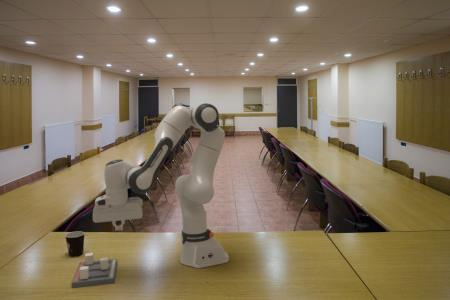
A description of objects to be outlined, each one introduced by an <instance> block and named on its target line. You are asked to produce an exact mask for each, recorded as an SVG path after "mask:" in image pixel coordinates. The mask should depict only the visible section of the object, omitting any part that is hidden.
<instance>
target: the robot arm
mask: <svg viewBox="0 0 450 300" xmlns="http://www.w3.org/2000/svg"><path fill="white" fill-rule="evenodd" d="M188 128H192V129H196V130H200V139H199V141H198V143H197V145H196V148H195V150H194V154H193V156H192V159H191V164H192V166H191V167H192V169H191V173H190V174H183V175H180V176H179V177H178V178H176V180H175V182H174V183H175V184H174V186H175V190H176V193H177V197H178V200H179V206H180V210H181V219H182V221H181V222H182V223H181V224H182V225H181V226H182V229H181V243H182V245H181V246H182V247H181V254H180V259H179V262H180V263H181V264H182V265H184V266H188V267H193V268H194V269H201V268H203V269H204V268H207V267H213V266H216V265H222V264H226V263H228V262H229V261H230V256H229V254H228V253H227V252H226V251H225V250H224V247H223V245H222V243H221V242H220V241H219V240H217V239H215V237H214V232H212V230H211V229H209V228H208V225H207V223H208V221H207V211H206V209H205V206H204V205H206V204H208V203H210V202H211V201H212V200H213V198H214V195H215V189H214V185H213V183H214V174H215V170H216V166H217V162H218V161H219V158H220V155H221V153H222V149H223V147H224V142H225V137H226V132H225V131H224V129H223V128H222V127H220V115H219V111H218V109H217V107H216V106H215V105H214V104H212V103H201V104H197V105H196V106H194V107H191V108H190V109H189V108H188V107H186V106H184V105H182V104H181V105H175V106H173V107H172V108H171V110H169V111H168V112H167V114H166V115H165V116H164V117H163V118H162V119H161V121H160V122H159V124H158V125H157V128H156V129H155V132H154V147H153V149H152V152H151V153H150V154H149V156H148V158H147V159H146V161H145V162H144V163H143V165H142V166H140V165H136V164H132V163H130V162H128V161H125V160H124V159H121V158H120V159H114V160H111V161H108V162H107V163H106V164H105V165H104V183H105V187H106V188H105V194H103V195H101V196H98V197H97V198H96V199H95V201H94V206H93V210H92V221H93V223H97V224H98V223H106V222H111V223H112V225H113V227H114V228H115V229H114V230H115V231H116V232H117V231H123V230H124V229H123V227H124V224H125V222H126V221H127V220H129V221H130V220H139V219H142V218H143V217H144V216H143V207H142V206H143V205H144V201H143V199H142V198H141V197H139V196H133V197H132V196H131V197H129V195H128V194H129V193H128V192H129V191H128V189H130V190H131V191H132V192H133V193H135V194H137V195H146V194H147V193H149V192H150V191H151V190H153V188H154V186H155V183H156V182H155V181H156V178H157V174H158V173H159V171H160V169H161V168H162V167H163V165H164V163H165V161H166V160H167V158H168V157H169V156H170V153H171V152H172V150H173V149H174V147H175V146H176V145H177V144H178V142H179V141H180V139H181V138H182V136H183V135H184V134H185V132H186V130H188ZM119 221H120V222H121V224H120V225H117V224H116V222H119Z"/></svg>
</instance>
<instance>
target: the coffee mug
mask: <svg viewBox="0 0 450 300" xmlns="http://www.w3.org/2000/svg"><path fill="white" fill-rule="evenodd" d="M85 233H86V232H84V231H83V230H82V231H80V230H78V231H71V232H68V233H66V234H65V235H64V236H65V241H66V247H67V252H68V256H69V257H70V258H76V257H77V258H78V257H80V256H82V255H83V254H84V248H85Z"/></svg>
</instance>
